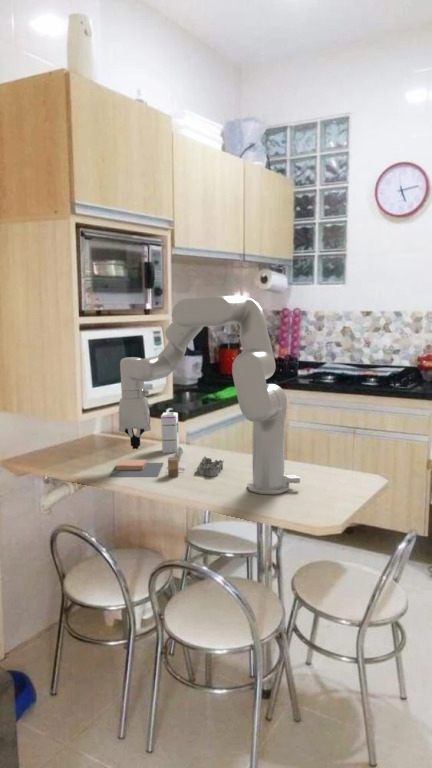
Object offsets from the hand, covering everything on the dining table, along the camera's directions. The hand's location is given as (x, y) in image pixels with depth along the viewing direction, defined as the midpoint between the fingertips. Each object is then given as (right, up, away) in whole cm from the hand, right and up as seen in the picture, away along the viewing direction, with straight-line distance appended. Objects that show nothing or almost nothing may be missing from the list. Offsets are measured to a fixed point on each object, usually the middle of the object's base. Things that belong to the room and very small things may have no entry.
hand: (135, 447), depth 200 cm
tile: (+3, -6, +1) cm, 6 cm away
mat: (+1, -7, -2) cm, 8 cm away
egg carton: (+26, -8, -4) cm, 27 cm away
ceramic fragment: (+14, -6, +13) cm, 20 cm away
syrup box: (+10, -4, +22) cm, 24 cm away
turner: (+14, -8, -4) cm, 16 cm away
